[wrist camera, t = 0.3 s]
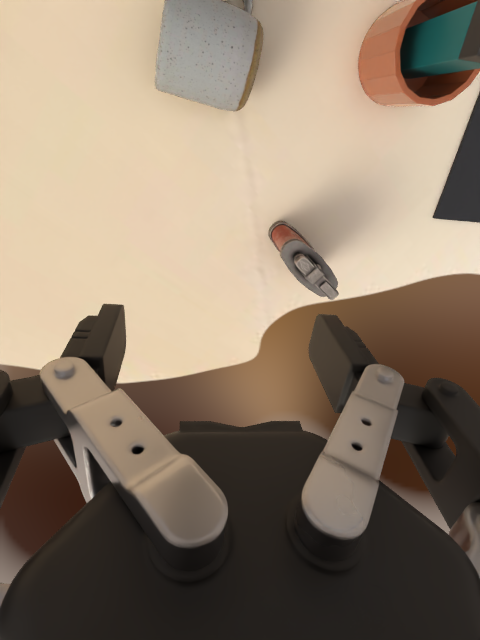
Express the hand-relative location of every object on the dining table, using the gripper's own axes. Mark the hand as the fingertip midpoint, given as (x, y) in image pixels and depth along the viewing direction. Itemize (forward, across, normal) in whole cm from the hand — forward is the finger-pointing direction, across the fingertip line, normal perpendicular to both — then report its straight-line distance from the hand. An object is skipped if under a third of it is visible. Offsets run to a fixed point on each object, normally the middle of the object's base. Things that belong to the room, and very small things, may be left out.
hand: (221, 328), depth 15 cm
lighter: (+29, -11, +6) cm, 32 cm away
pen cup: (+29, -18, -14) cm, 37 cm away
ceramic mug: (+29, +1, -13) cm, 32 cm away
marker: (+29, -18, -14) cm, 37 cm away
